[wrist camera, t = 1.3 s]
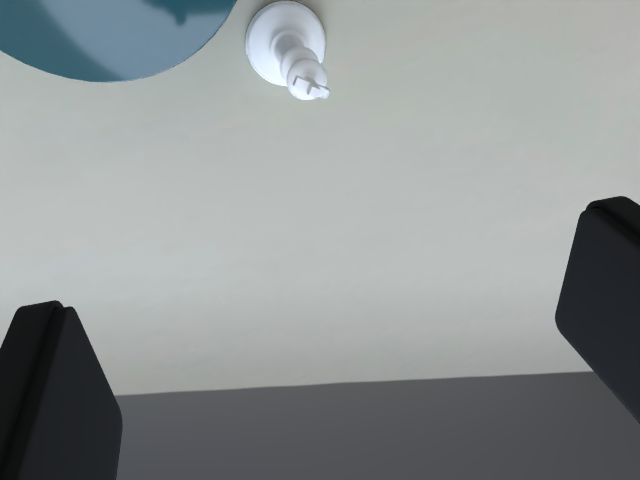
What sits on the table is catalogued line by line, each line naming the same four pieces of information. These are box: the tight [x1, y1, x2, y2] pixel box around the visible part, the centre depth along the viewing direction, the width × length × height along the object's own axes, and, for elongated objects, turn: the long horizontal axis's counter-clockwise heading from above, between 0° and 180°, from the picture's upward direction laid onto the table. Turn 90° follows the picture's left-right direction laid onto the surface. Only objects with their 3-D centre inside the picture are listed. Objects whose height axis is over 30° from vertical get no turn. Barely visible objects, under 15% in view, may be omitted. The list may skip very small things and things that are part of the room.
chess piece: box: [245, 1, 330, 100], centre depth 28 cm, size 5×5×10 cm
